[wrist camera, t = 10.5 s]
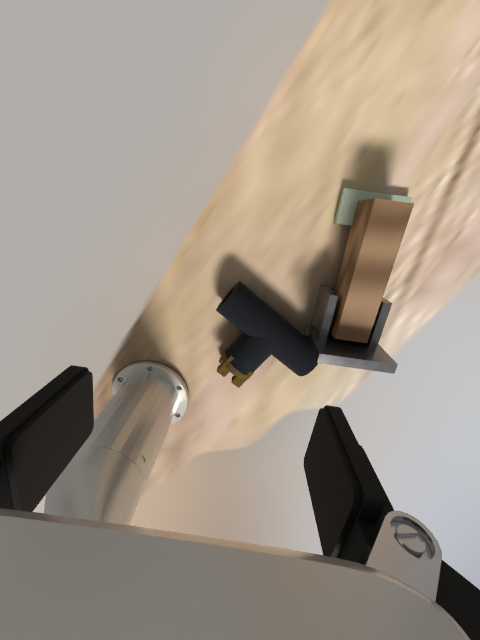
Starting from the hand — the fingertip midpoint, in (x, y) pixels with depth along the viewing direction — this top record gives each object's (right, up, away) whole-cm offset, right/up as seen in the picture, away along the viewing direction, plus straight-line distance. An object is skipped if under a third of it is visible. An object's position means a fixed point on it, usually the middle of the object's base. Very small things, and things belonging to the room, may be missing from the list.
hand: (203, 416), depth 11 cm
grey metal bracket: (+16, +5, +28) cm, 32 cm away
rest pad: (+18, +17, +23) cm, 34 cm away
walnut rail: (+17, +11, +24) cm, 31 cm away
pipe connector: (+4, +1, +30) cm, 30 cm away
